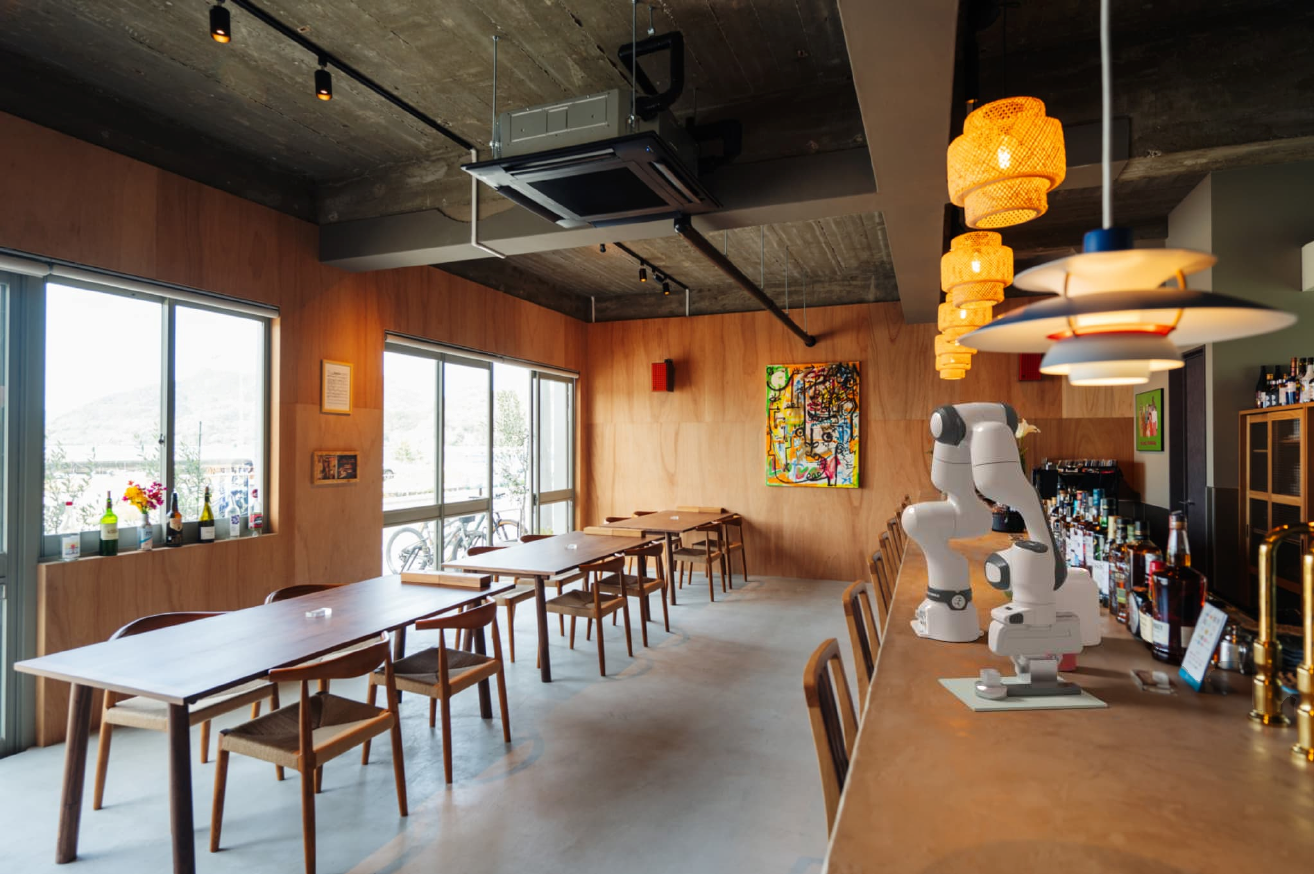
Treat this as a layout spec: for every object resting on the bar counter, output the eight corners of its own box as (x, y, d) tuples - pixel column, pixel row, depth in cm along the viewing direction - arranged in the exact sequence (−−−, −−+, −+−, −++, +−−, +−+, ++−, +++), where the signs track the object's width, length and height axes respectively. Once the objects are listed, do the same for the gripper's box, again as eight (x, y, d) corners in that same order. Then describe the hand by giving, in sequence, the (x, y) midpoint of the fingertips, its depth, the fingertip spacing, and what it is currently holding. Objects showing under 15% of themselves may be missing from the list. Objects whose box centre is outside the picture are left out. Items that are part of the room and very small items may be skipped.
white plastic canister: (1098, 637, 192) (1095, 566, 192) (1103, 649, 181) (1100, 574, 181) (1047, 632, 198) (1044, 563, 198) (1049, 644, 187) (1046, 571, 187)
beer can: (1080, 672, 163) (1078, 622, 164) (1050, 671, 165) (1048, 622, 165) (1069, 664, 170) (1068, 616, 170) (1041, 663, 171) (1039, 615, 171)
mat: (938, 681, 160) (938, 679, 160) (1057, 678, 160) (1056, 675, 160) (974, 711, 142) (974, 708, 142) (1107, 707, 142) (1107, 704, 142)
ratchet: (969, 690, 153) (969, 667, 153) (1068, 687, 153) (1067, 664, 153) (983, 701, 146) (982, 676, 146) (1086, 697, 146) (1085, 673, 146)
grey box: (1016, 678, 159) (1015, 652, 159) (1042, 677, 159) (1041, 651, 159) (1031, 687, 153) (1030, 660, 153) (1057, 686, 153) (1056, 659, 153)
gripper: (1070, 608, 160) (1073, 667, 160) (984, 610, 160) (986, 669, 159) (1087, 614, 153) (1090, 676, 153) (997, 617, 153) (999, 678, 153)
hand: (1036, 672), depth 156 cm, fingers closed on grey box, 6 cm apart
